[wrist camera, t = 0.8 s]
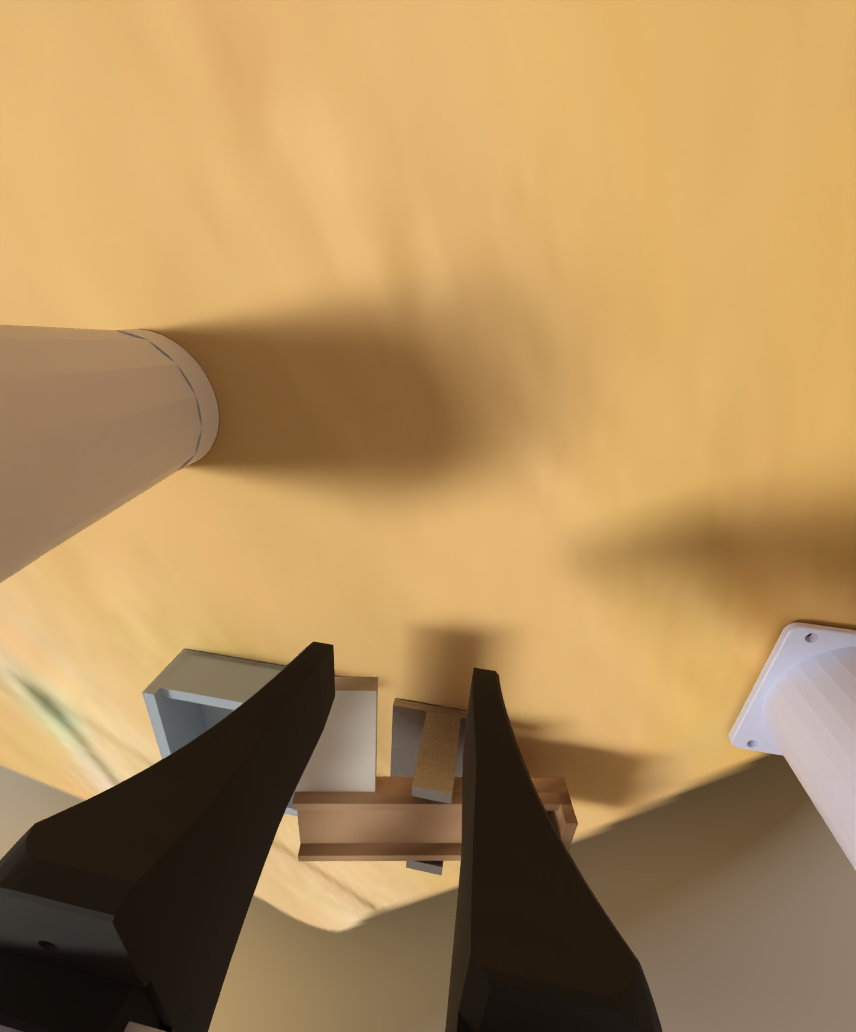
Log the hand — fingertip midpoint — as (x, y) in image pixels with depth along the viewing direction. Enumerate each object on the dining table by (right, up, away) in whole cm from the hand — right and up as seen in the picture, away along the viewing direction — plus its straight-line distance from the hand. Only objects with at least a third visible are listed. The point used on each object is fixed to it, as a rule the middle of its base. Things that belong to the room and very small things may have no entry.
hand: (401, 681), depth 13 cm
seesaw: (+1, -8, +10) cm, 13 cm away
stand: (+2, -10, +15) cm, 18 cm away
